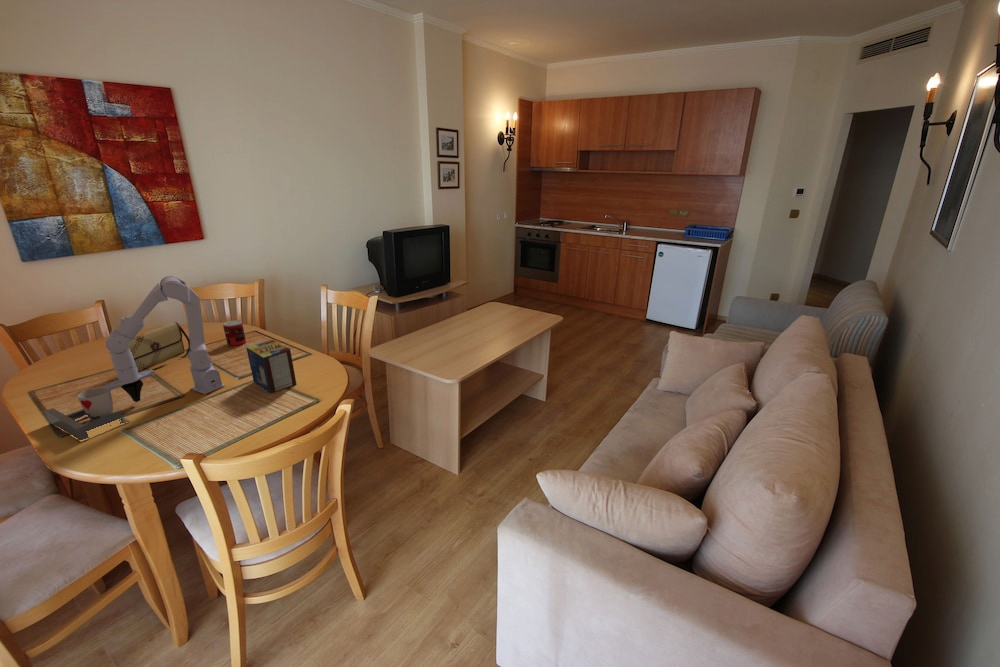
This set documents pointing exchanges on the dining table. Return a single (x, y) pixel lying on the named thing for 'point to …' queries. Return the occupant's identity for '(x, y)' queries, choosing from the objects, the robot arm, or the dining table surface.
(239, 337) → the canned food
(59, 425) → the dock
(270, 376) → the protein box
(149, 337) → the clutch purse
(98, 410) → the cup
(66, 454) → the dining table surface
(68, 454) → the dining table surface
